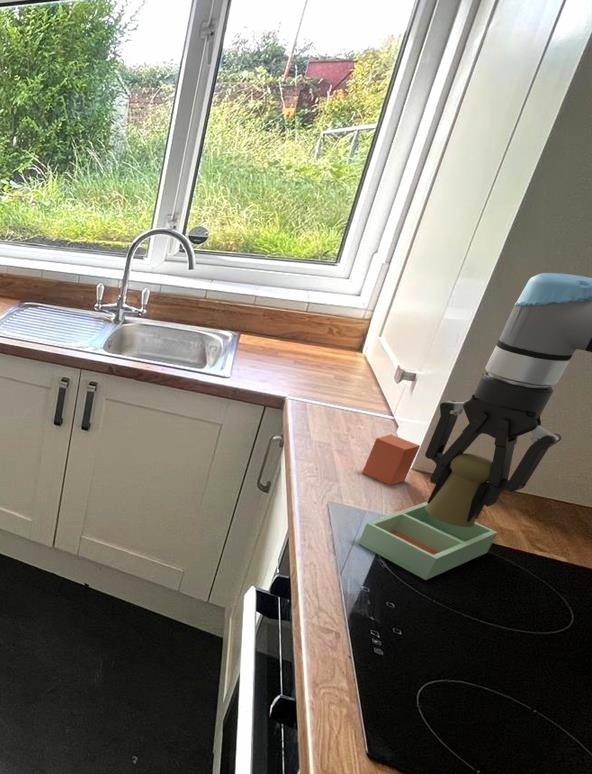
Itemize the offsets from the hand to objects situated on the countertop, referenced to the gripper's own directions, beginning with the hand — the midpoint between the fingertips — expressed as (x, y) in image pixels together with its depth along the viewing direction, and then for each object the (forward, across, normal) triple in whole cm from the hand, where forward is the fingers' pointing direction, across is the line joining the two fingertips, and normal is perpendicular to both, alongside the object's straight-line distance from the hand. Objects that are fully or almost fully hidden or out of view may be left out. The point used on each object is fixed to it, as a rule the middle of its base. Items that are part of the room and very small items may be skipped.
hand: (451, 510), depth 95 cm
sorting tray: (+6, 0, +4) cm, 8 cm away
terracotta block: (+6, +16, -16) cm, 23 cm away
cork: (+1, 0, 0) cm, 1 cm away
